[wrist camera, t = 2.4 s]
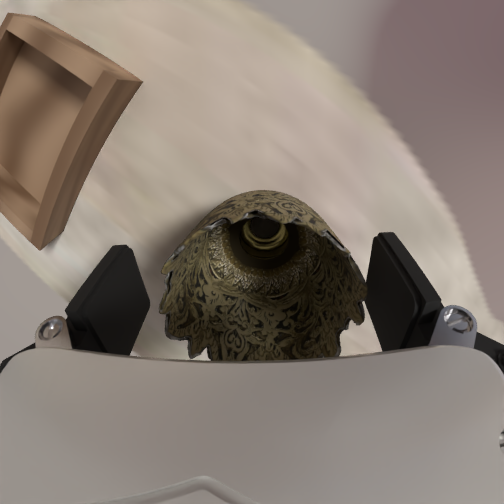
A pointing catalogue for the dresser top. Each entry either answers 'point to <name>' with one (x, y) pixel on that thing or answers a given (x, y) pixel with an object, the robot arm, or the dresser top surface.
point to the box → (52, 121)
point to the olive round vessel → (262, 284)
